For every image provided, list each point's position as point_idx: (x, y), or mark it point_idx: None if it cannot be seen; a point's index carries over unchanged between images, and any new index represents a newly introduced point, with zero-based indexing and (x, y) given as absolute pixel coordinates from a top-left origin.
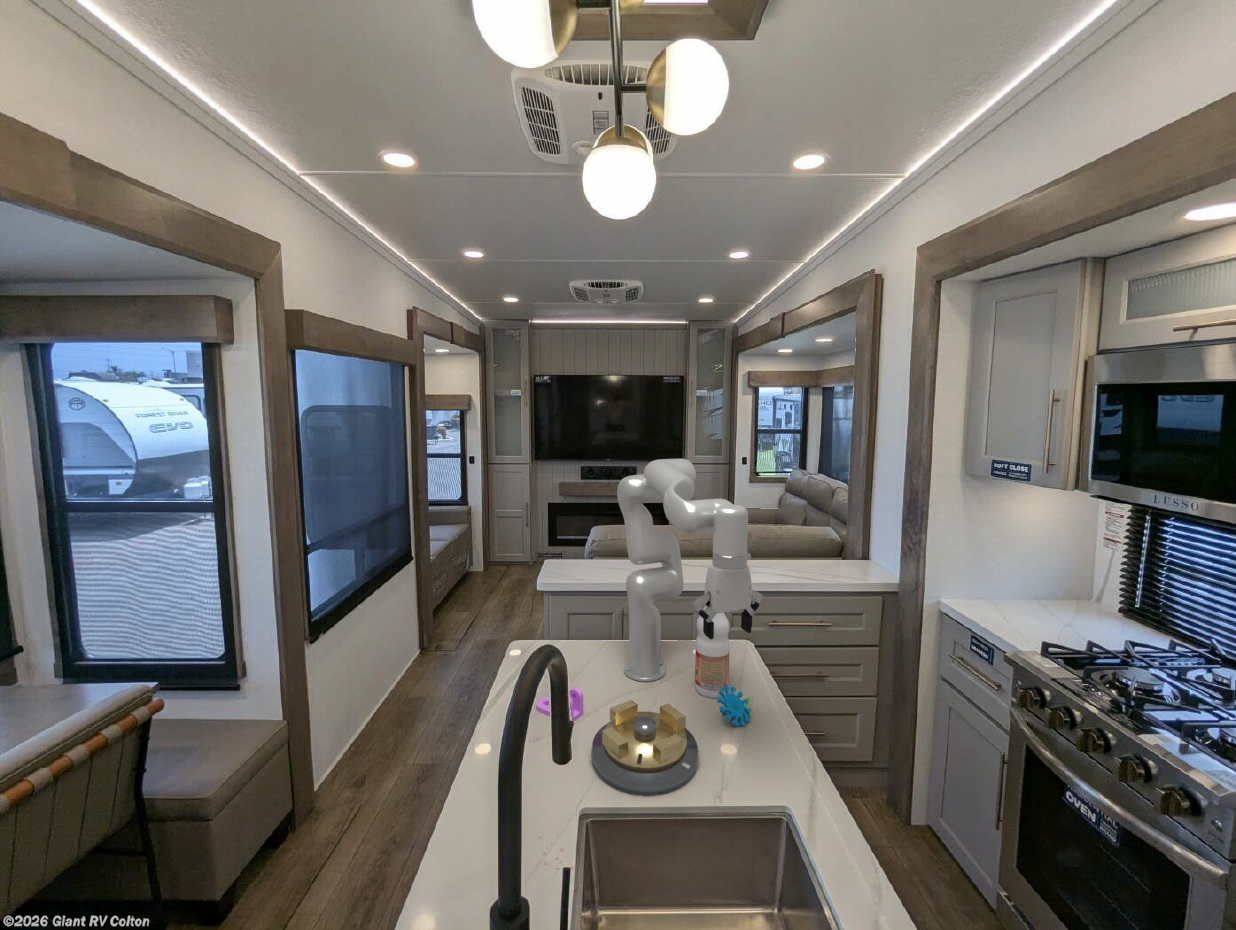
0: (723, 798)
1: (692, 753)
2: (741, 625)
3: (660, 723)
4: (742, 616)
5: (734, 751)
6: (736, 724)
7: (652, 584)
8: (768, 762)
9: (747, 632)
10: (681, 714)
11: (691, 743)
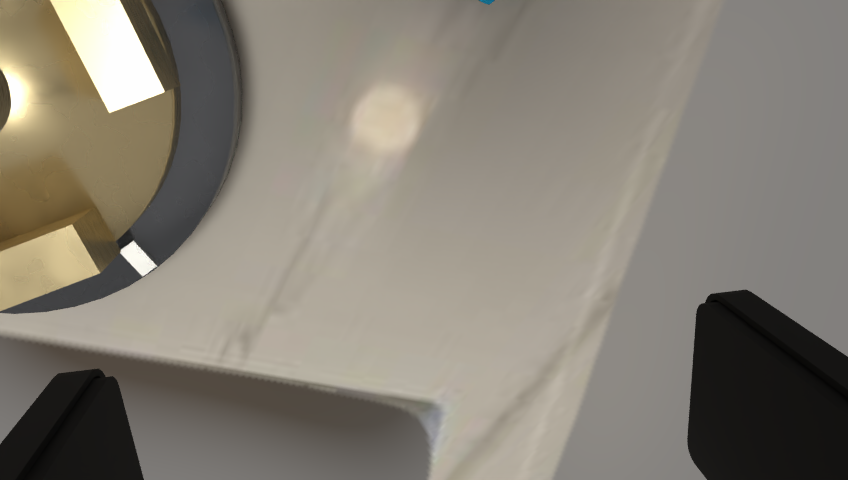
0: (259, 345)
1: (190, 193)
2: (718, 328)
3: (55, 11)
4: (824, 435)
5: (402, 139)
6: (486, 1)
7: None
8: (494, 225)
9: (688, 438)
10: (143, 73)
11: (207, 130)
